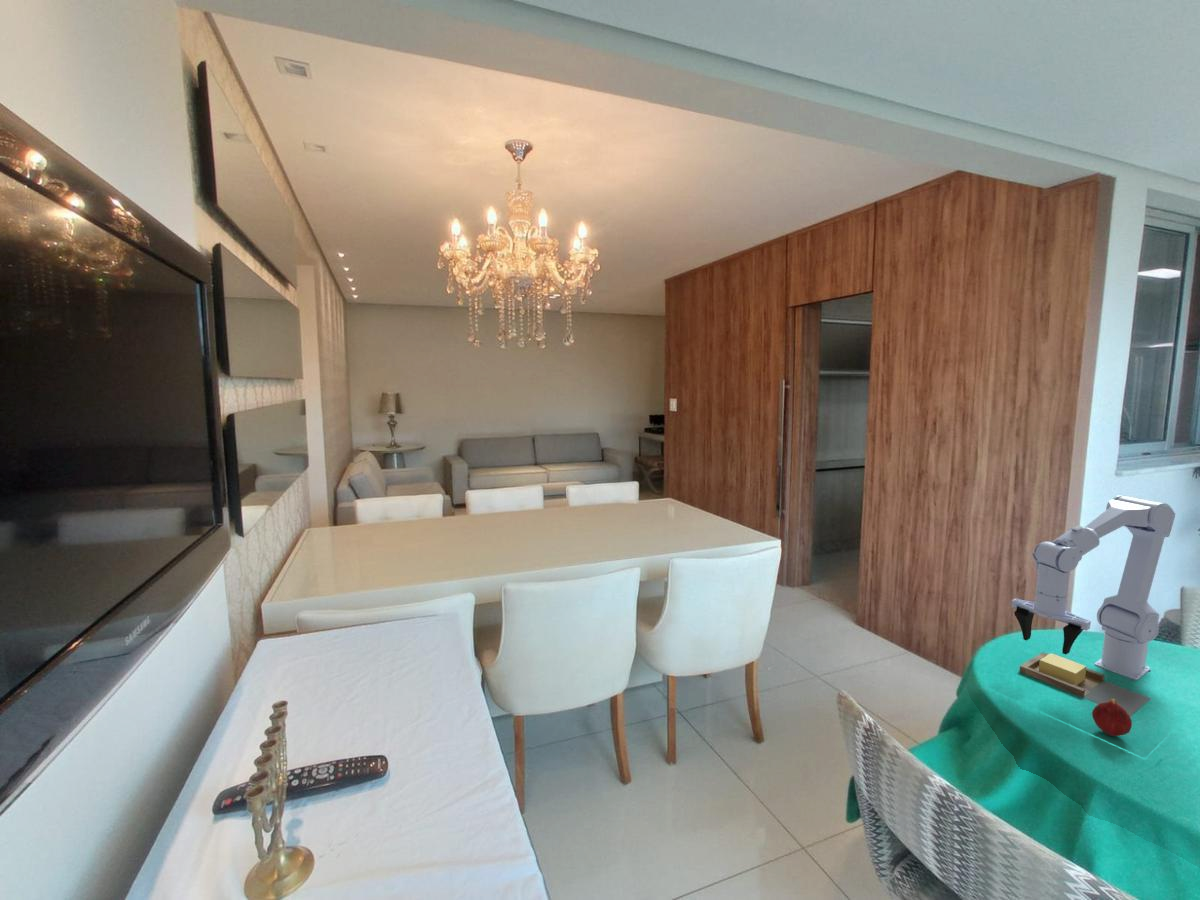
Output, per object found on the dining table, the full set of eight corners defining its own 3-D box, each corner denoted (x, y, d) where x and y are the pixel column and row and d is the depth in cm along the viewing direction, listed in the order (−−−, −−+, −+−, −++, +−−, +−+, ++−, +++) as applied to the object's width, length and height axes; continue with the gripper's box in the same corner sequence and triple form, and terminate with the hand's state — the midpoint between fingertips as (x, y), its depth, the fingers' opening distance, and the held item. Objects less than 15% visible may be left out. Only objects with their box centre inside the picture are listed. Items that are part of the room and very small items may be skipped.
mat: (1104, 681, 125) (1104, 680, 125) (1150, 699, 118) (1150, 698, 118) (1082, 698, 119) (1082, 697, 119) (1130, 717, 112) (1130, 716, 112)
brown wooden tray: (1042, 658, 136) (1042, 652, 136) (1103, 681, 125) (1104, 674, 125) (1019, 672, 130) (1019, 665, 130) (1082, 698, 119) (1082, 691, 119)
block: (1049, 665, 132) (1050, 653, 132) (1084, 679, 126) (1086, 666, 125) (1038, 672, 129) (1039, 659, 129) (1074, 687, 123) (1075, 673, 123)
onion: (1137, 746, 104) (1142, 710, 103) (1103, 743, 105) (1108, 707, 104) (1115, 727, 110) (1119, 692, 108) (1083, 724, 111) (1087, 690, 110)
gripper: (1007, 586, 127) (1002, 637, 129) (1084, 608, 115) (1077, 664, 117) (1020, 579, 131) (1016, 630, 133) (1096, 600, 118) (1090, 655, 120)
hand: (1045, 645), depth 125 cm, fingers open, 7 cm apart
